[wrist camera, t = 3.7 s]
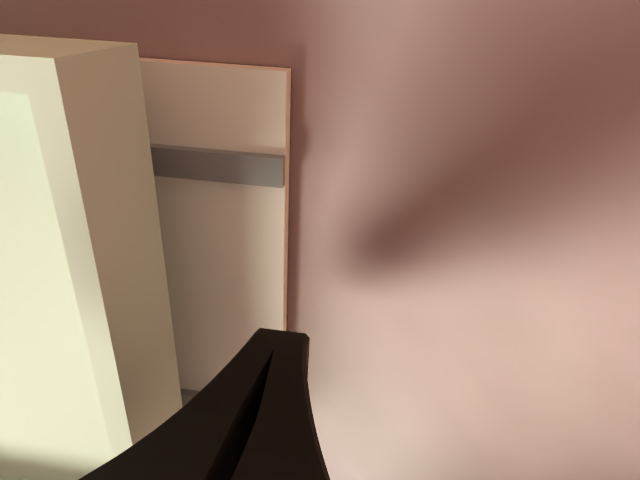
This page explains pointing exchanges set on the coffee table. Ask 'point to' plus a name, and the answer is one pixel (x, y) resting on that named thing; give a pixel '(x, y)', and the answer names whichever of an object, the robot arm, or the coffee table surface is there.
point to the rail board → (220, 204)
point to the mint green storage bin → (78, 260)
